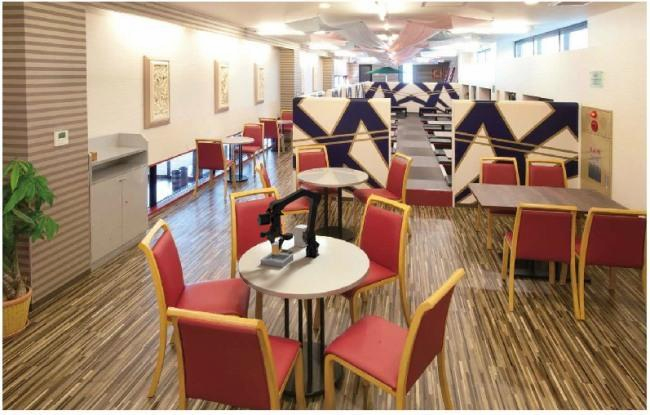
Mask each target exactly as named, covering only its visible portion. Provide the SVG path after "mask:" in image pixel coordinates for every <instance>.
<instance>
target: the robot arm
mask: <svg viewBox="0 0 650 415" xmlns="http://www.w3.org/2000/svg"><path fill="white" fill-rule="evenodd" d="M302 197H307V199H308V203H309V209H308V214H307V222H306V223H307V224H306V225H307V229H306V231H305V232H304V231H303V235H302V238H303V241H304V242H305V243H306V245H307V246H306V248H305V257H306V258H313V259H315V258H317V257H319V256H320V253H319V247H320V243H319V242H318V241H317V237H316V232H315V229H316V222H317V214H318V213H317V212H318V207H319V206H320V205H321V202H322V198H323V194H322V193H321V192H320V191H317V190H314V189H313V190H308V189H306V188H303V187H300V188H299V189H297V190H296V191H294V192H292V193H290V194H288V195H285V196H284V197H282V198H279V199H275V200H272V201H270V202H269V204H268V207H267V209H266V210H265V212H264V213H258V214H257V219H256V221H257V222H256V223H257V225H258V226H259V227H263V226H268V225H269V229H268V230H267V229H266V230H265V229H264V230H262V231H261V232H260V233H259V238H263V239H264V238H266V240H267V241H269V243H270V245H271V246H272V244H273V243H274V242H276V238H279V239H278V240H277V241H279V250H281V247H282V248H283V243H284V242H285V241H291V240H292V239H294V233H292V232H285V233H283V231H282V227H283V224H282V218H281V217H282V216H285V214H284V212H282V211H283V210H284V209H285V208H286V206H288V205H289V204H291V203H293V202H295V201H297V200H299V199H301V198H302Z"/></svg>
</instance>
